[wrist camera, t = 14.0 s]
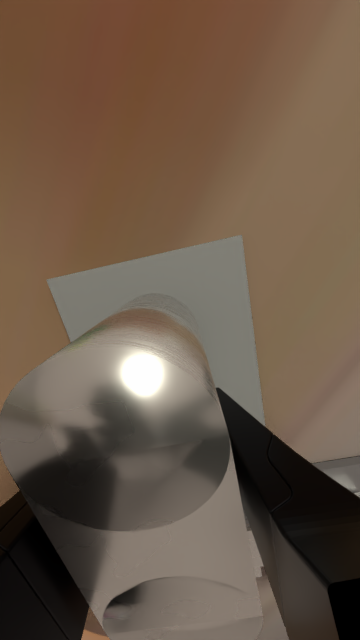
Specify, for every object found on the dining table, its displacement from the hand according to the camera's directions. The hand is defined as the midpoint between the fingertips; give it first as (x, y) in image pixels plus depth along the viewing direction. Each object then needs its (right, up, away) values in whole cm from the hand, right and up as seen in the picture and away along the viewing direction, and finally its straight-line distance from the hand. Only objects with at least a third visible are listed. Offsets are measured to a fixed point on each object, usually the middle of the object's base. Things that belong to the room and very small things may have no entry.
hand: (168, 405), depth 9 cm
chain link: (0, 0, +1) cm, 1 cm away
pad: (0, +1, +3) cm, 3 cm away
